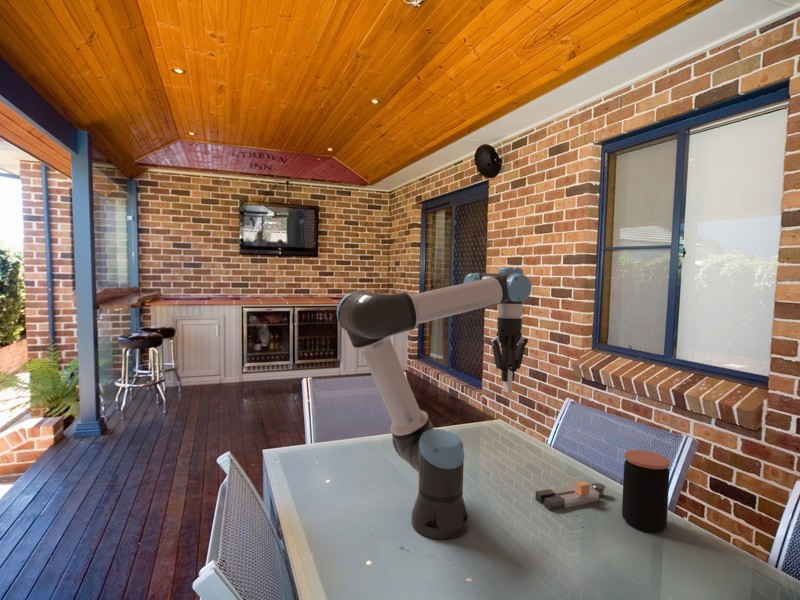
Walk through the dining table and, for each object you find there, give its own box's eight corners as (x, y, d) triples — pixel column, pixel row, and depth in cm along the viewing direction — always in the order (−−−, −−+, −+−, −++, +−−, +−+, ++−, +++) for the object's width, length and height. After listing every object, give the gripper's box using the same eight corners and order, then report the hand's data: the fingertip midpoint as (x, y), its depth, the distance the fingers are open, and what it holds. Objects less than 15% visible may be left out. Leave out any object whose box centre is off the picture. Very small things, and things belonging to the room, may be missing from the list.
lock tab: (583, 490, 134) (583, 480, 133) (589, 494, 131) (589, 484, 131) (574, 492, 133) (575, 482, 132) (580, 496, 130) (581, 485, 130)
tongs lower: (598, 491, 139) (598, 482, 138) (609, 498, 134) (610, 488, 134) (539, 503, 131) (540, 493, 131) (550, 511, 127) (550, 501, 126)
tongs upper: (585, 491, 138) (585, 484, 138) (590, 495, 136) (591, 487, 136) (535, 499, 133) (535, 491, 133) (540, 503, 131) (540, 495, 131)
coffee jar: (655, 513, 126) (658, 450, 125) (674, 535, 116) (678, 467, 114) (615, 511, 127) (618, 448, 126) (631, 532, 117) (634, 464, 116)
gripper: (520, 315, 147) (517, 387, 148) (485, 316, 142) (483, 389, 144) (534, 317, 140) (532, 392, 141) (498, 318, 135) (496, 396, 137)
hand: (507, 391), depth 142 cm, fingers closed
